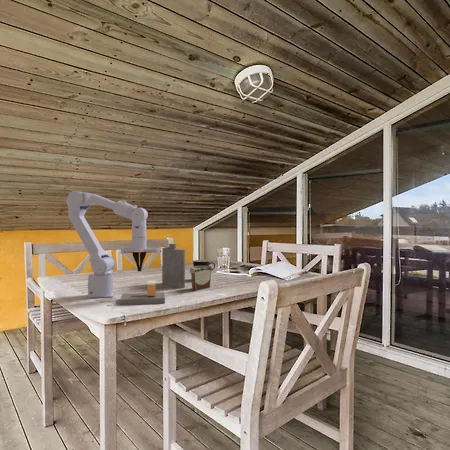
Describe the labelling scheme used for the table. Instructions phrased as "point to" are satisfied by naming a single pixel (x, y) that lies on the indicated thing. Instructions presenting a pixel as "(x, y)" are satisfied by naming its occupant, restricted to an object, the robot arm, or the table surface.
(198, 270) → the food container
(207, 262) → the coffee mug
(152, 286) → the knob
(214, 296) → the table surface
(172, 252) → the hip flask
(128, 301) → the panel
